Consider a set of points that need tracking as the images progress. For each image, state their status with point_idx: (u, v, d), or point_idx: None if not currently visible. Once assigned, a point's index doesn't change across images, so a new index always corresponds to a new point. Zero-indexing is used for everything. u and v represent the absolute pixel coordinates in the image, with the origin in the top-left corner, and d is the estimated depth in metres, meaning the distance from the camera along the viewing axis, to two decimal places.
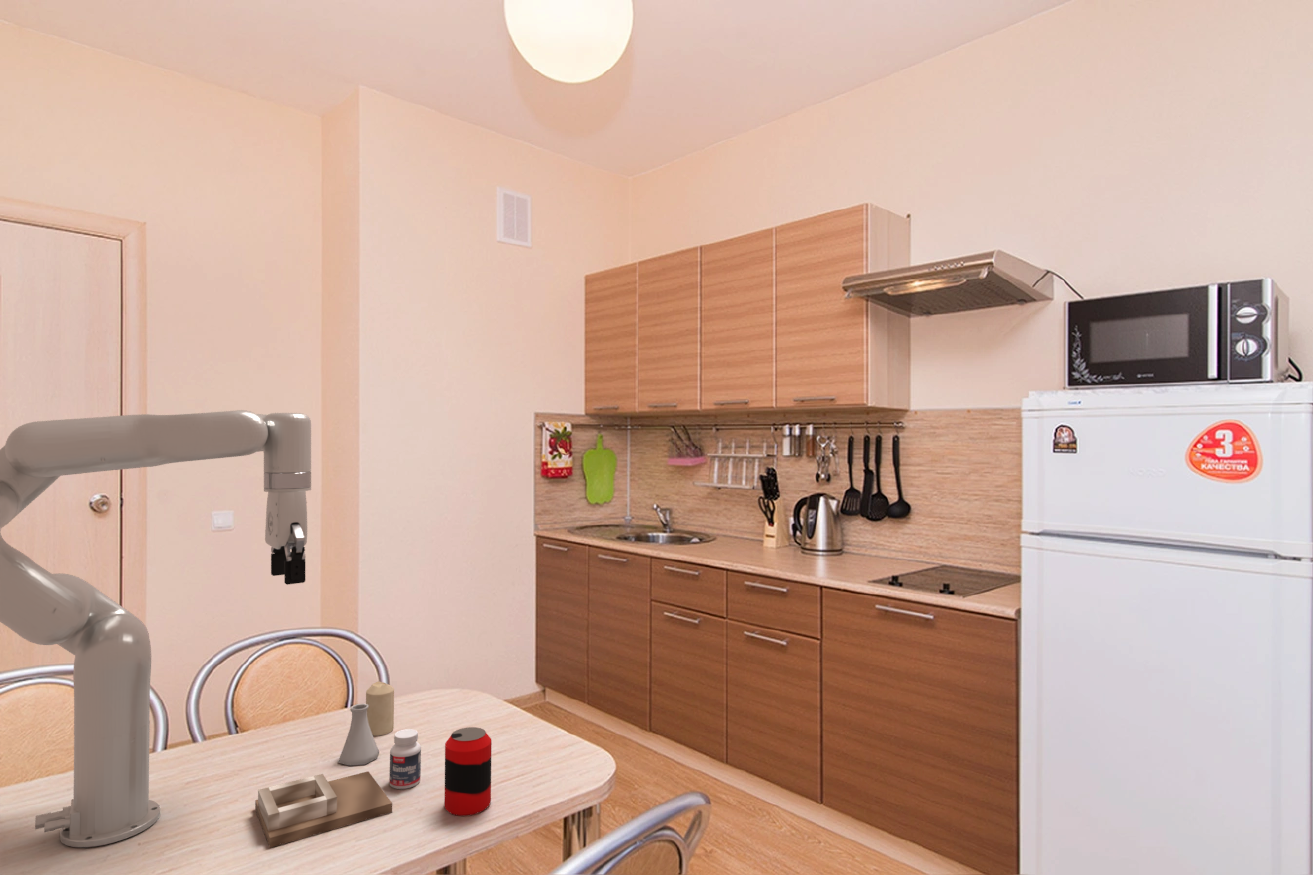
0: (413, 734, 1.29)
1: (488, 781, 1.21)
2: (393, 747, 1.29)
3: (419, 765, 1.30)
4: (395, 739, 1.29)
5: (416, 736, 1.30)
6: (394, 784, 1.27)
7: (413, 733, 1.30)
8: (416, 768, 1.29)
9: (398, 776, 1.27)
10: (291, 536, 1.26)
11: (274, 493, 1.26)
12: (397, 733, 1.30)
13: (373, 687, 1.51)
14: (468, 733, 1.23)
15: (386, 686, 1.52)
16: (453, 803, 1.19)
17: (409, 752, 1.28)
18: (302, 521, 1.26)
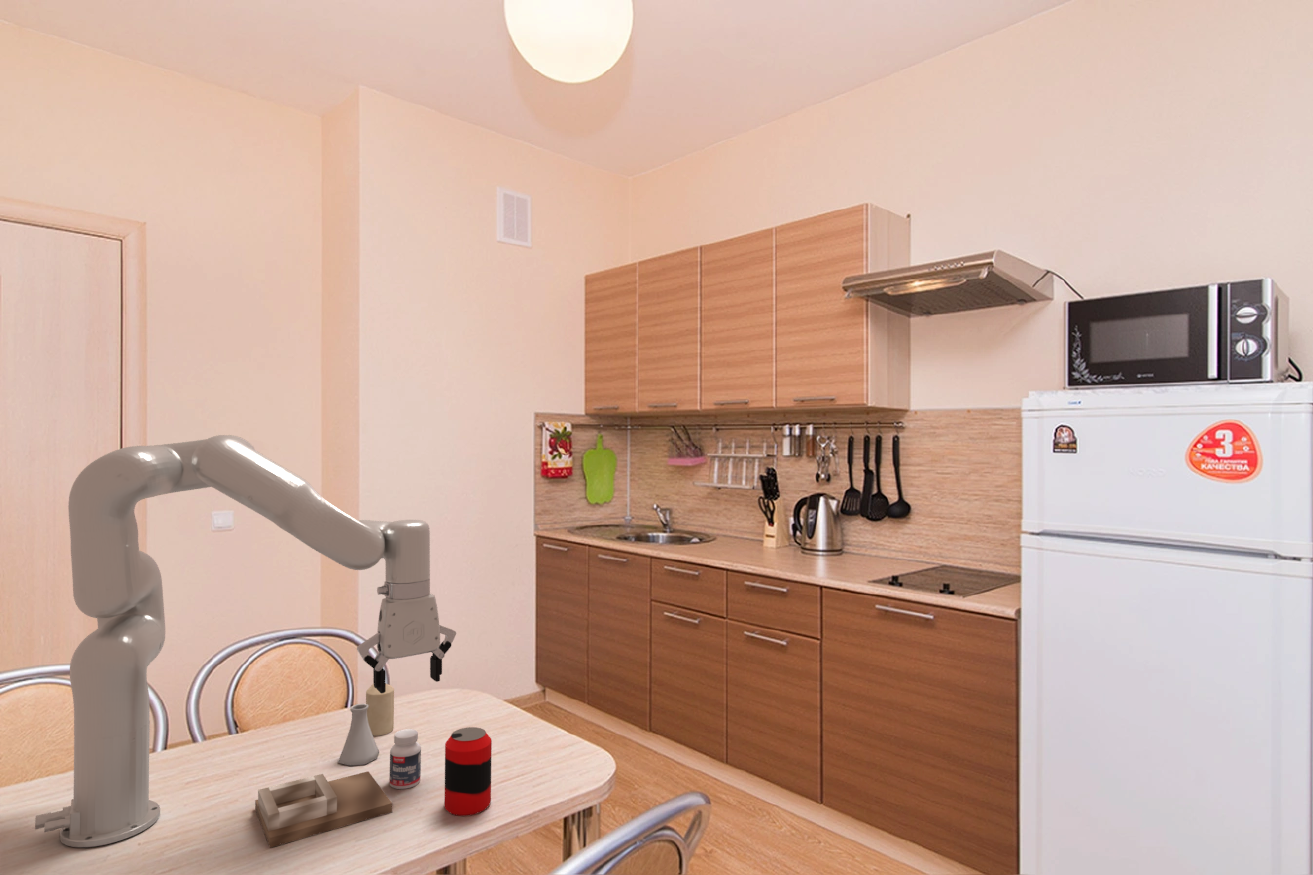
0: (413, 734, 1.29)
1: (488, 781, 1.21)
2: (393, 747, 1.29)
3: (419, 765, 1.30)
4: (395, 739, 1.29)
5: (416, 736, 1.30)
6: (394, 784, 1.27)
7: (413, 733, 1.30)
8: (416, 768, 1.29)
9: (398, 776, 1.27)
10: None
11: (424, 600, 1.29)
12: (397, 733, 1.30)
13: (373, 687, 1.51)
14: (469, 733, 1.23)
15: (386, 686, 1.52)
16: (453, 802, 1.19)
17: (409, 752, 1.28)
18: None
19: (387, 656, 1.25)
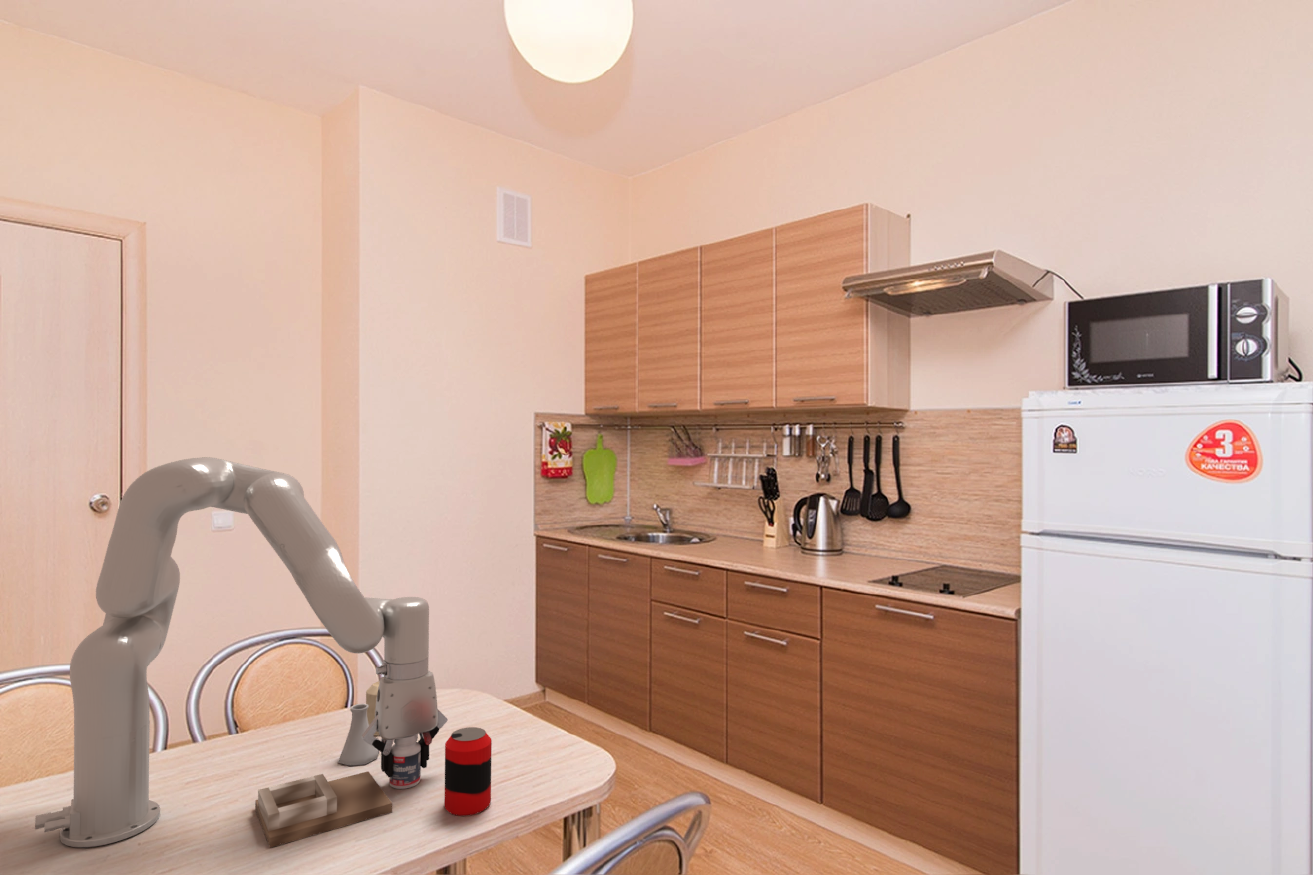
0: None
1: (488, 781, 1.21)
2: (393, 747, 1.29)
3: (419, 765, 1.30)
4: (395, 739, 1.29)
5: (416, 736, 1.30)
6: (394, 784, 1.27)
7: None
8: (416, 768, 1.29)
9: (398, 776, 1.27)
10: None
11: (422, 679, 1.29)
12: None
13: (373, 687, 1.51)
14: (469, 733, 1.23)
15: None
16: (453, 802, 1.19)
17: (408, 752, 1.28)
18: None
19: (384, 737, 1.25)
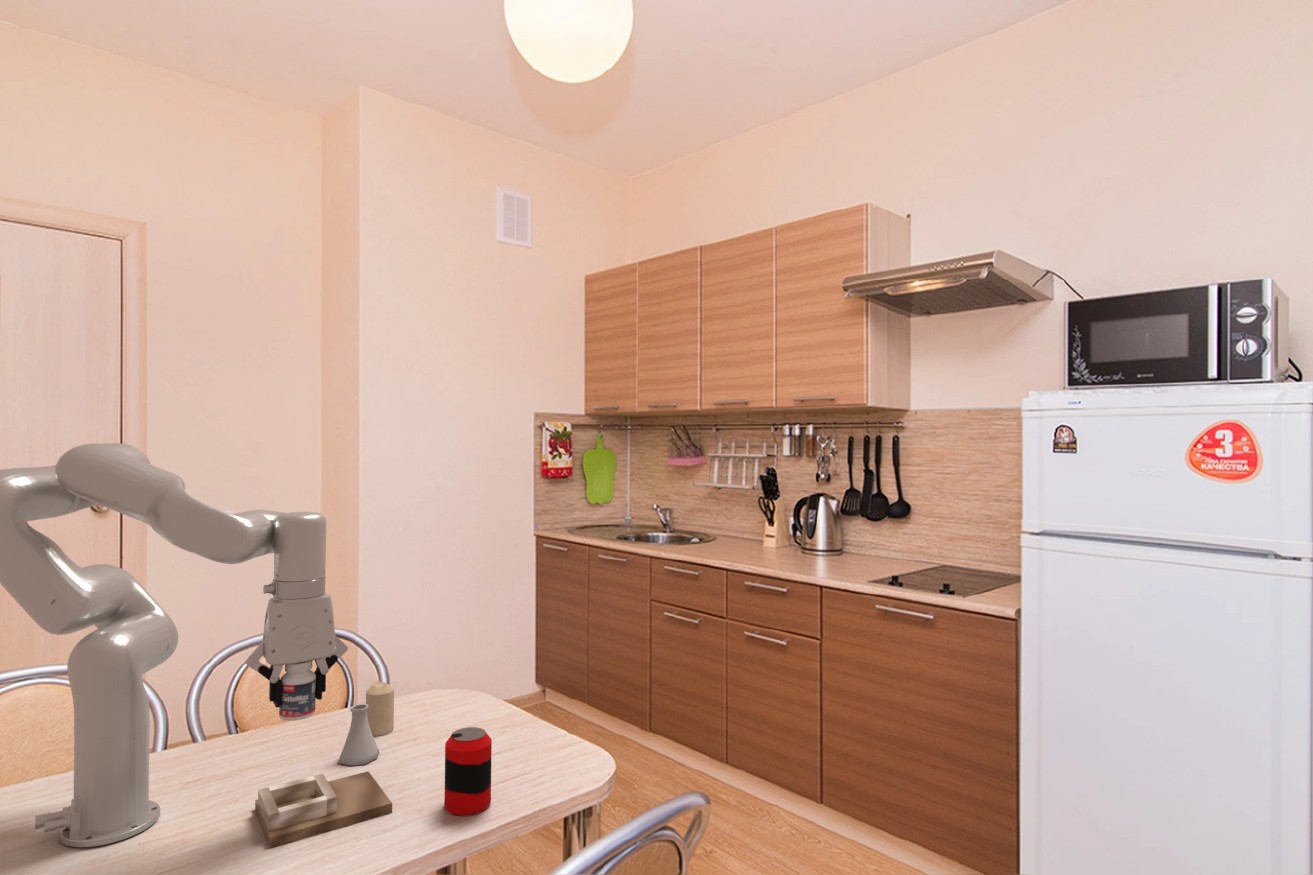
0: (306, 661, 1.17)
1: (488, 781, 1.21)
2: (283, 675, 1.17)
3: (313, 696, 1.17)
4: (285, 666, 1.16)
5: (310, 663, 1.17)
6: (283, 715, 1.15)
7: None
8: (308, 699, 1.16)
9: (287, 707, 1.15)
10: None
11: (316, 600, 1.17)
12: None
13: (373, 687, 1.51)
14: (469, 733, 1.23)
15: (386, 686, 1.52)
16: (453, 802, 1.19)
17: (300, 680, 1.15)
18: None
19: (270, 662, 1.13)
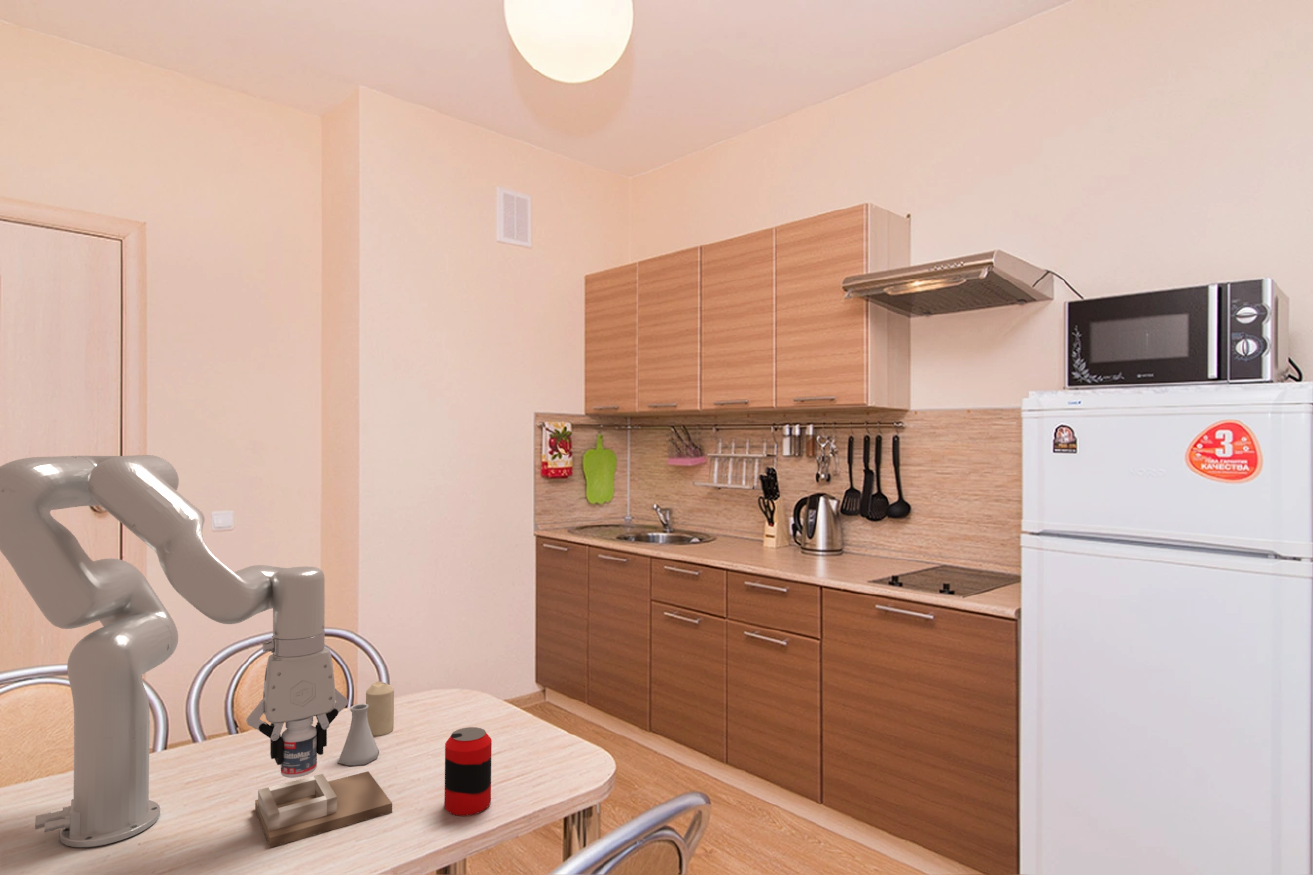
0: None
1: (488, 781, 1.21)
2: (284, 732, 1.17)
3: (314, 751, 1.17)
4: (286, 723, 1.16)
5: (310, 719, 1.17)
6: (285, 772, 1.15)
7: None
8: (309, 755, 1.16)
9: (288, 764, 1.15)
10: None
11: (315, 656, 1.17)
12: None
13: (373, 687, 1.51)
14: (468, 733, 1.23)
15: (386, 686, 1.52)
16: (453, 802, 1.19)
17: (300, 737, 1.15)
18: None
19: (271, 721, 1.13)
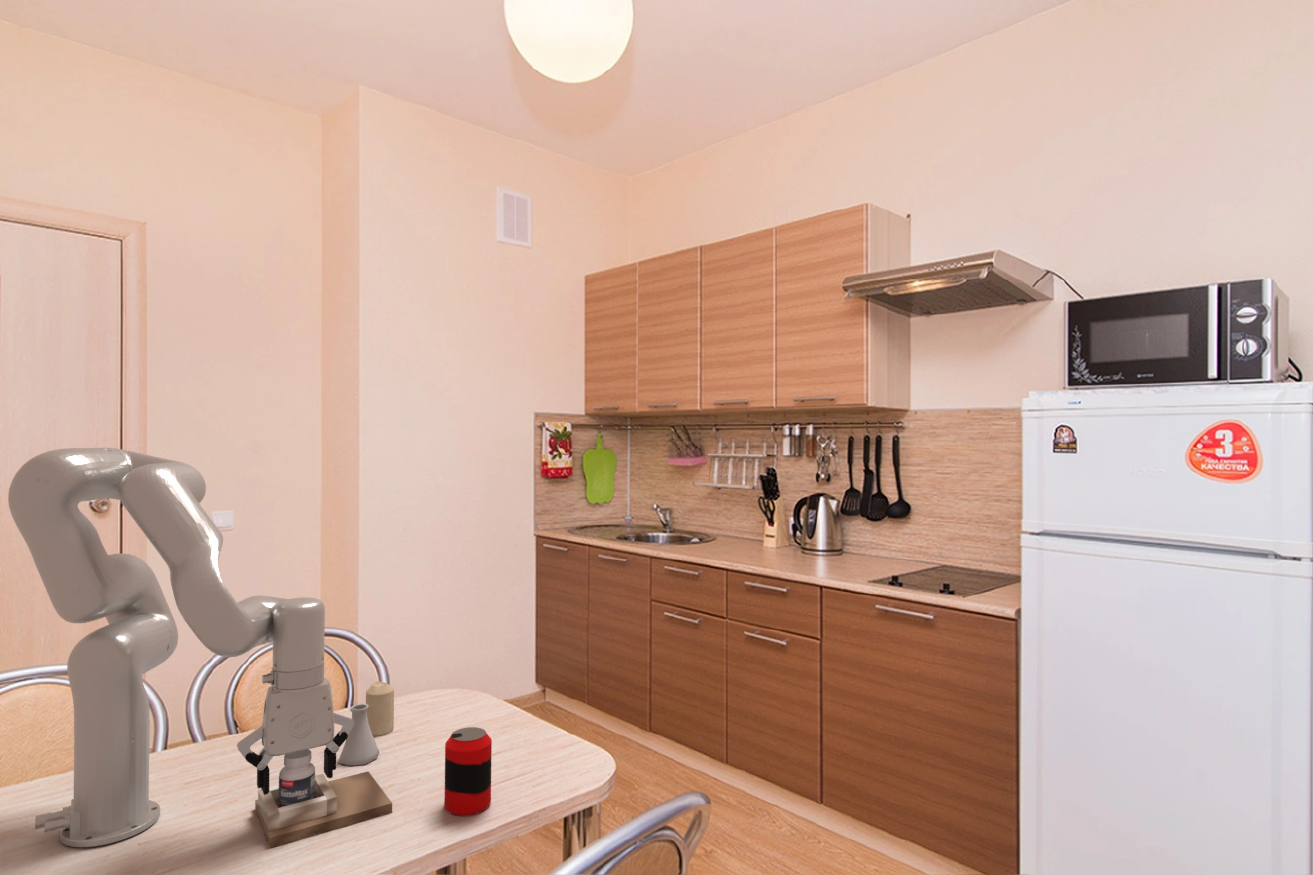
0: (305, 755, 1.17)
1: (488, 781, 1.21)
2: (282, 769, 1.17)
3: (312, 789, 1.17)
4: (284, 760, 1.16)
5: (309, 757, 1.17)
6: None
7: (305, 754, 1.18)
8: (307, 793, 1.16)
9: (286, 802, 1.15)
10: None
11: (315, 688, 1.17)
12: (288, 754, 1.17)
13: (373, 687, 1.51)
14: (469, 733, 1.23)
15: (386, 686, 1.52)
16: (453, 802, 1.19)
17: (298, 775, 1.15)
18: None
19: (270, 753, 1.13)
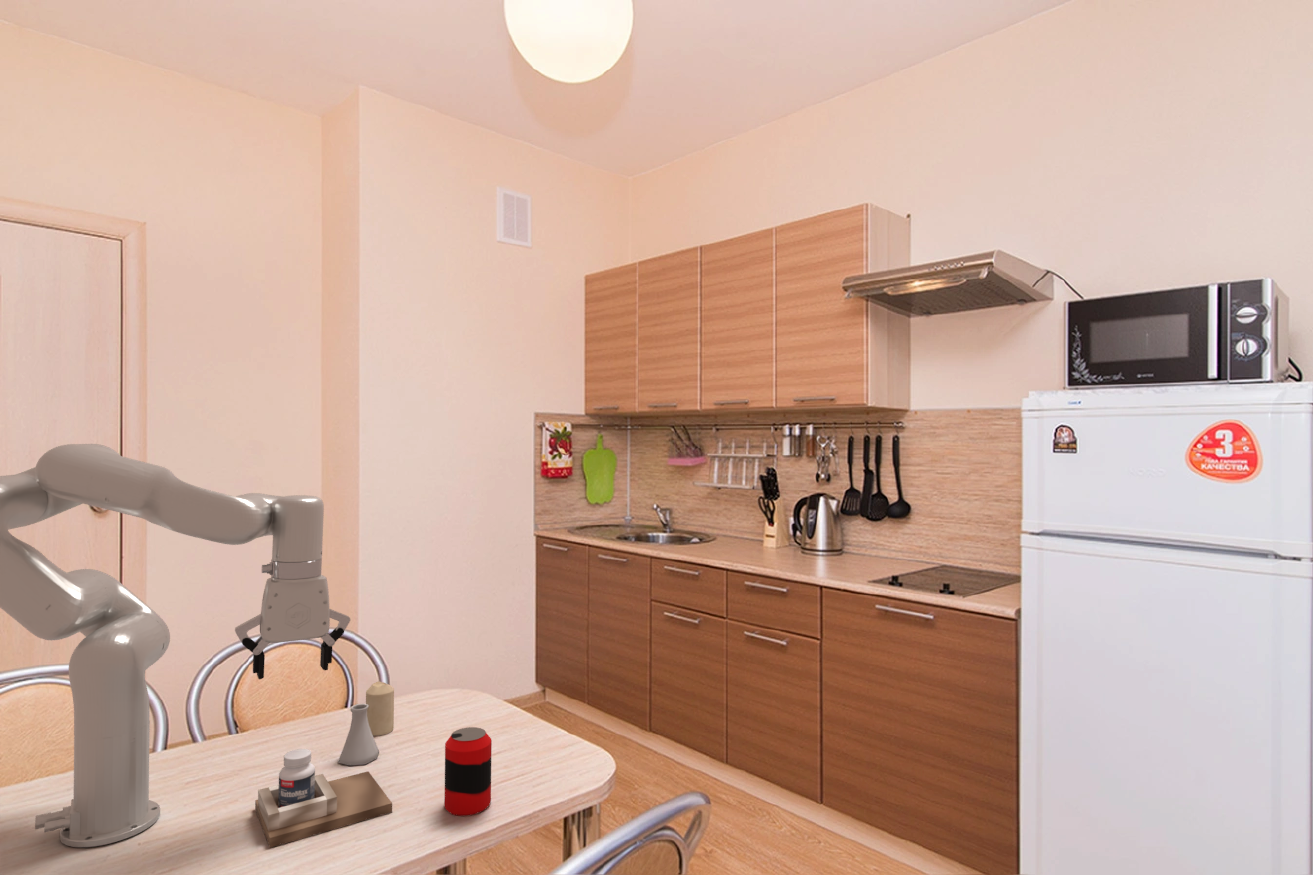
0: (305, 755, 1.17)
1: (488, 781, 1.21)
2: (282, 769, 1.17)
3: (312, 789, 1.17)
4: (284, 760, 1.16)
5: (308, 757, 1.17)
6: None
7: (305, 754, 1.18)
8: (307, 793, 1.16)
9: (286, 802, 1.15)
10: None
11: (312, 581, 1.20)
12: (287, 754, 1.17)
13: (373, 687, 1.51)
14: (468, 733, 1.23)
15: (386, 686, 1.52)
16: (453, 802, 1.19)
17: (298, 775, 1.15)
18: None
19: (266, 639, 1.17)
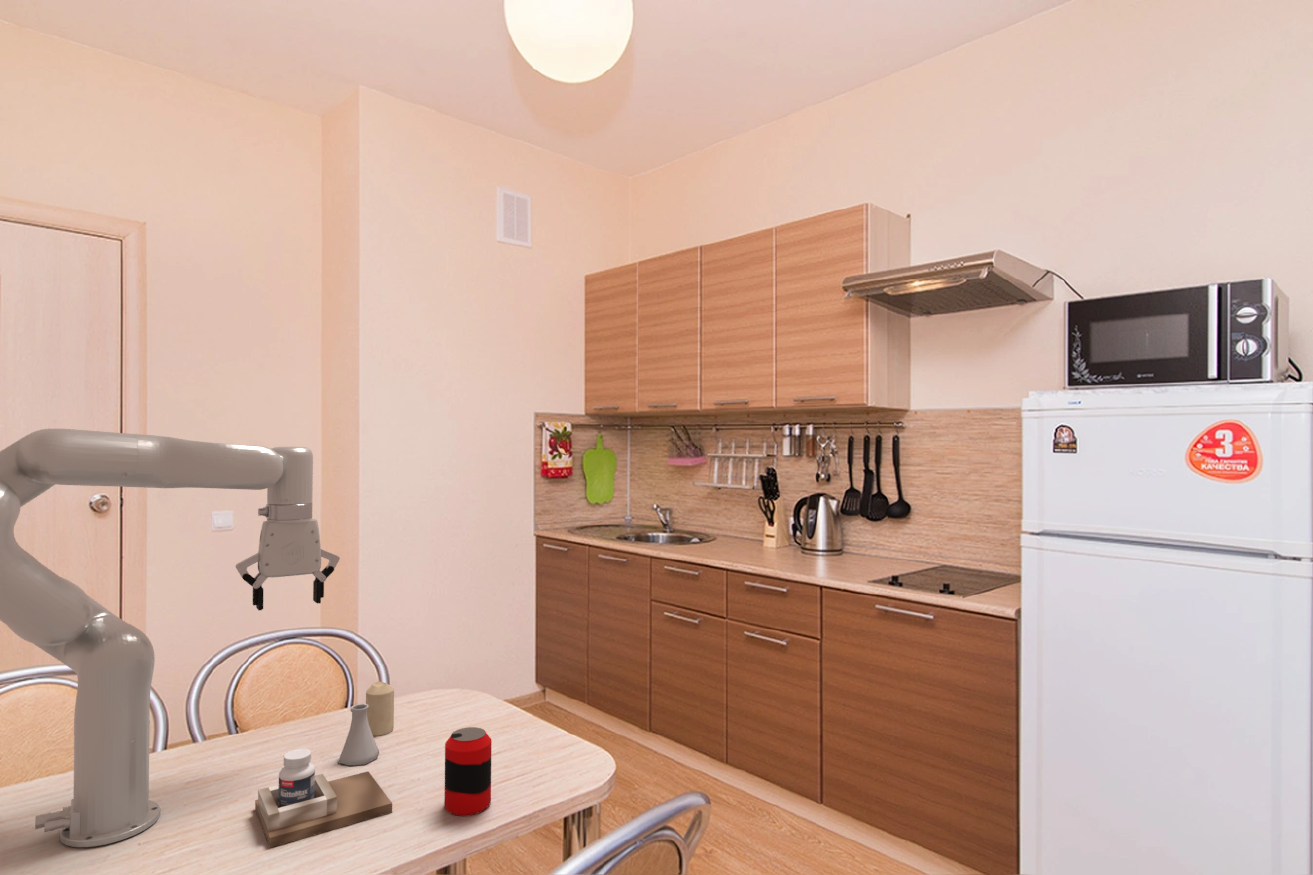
0: (305, 755, 1.17)
1: (488, 781, 1.21)
2: (282, 769, 1.17)
3: (312, 789, 1.17)
4: (284, 761, 1.16)
5: (308, 757, 1.17)
6: None
7: (305, 754, 1.18)
8: (307, 793, 1.16)
9: (286, 802, 1.15)
10: None
11: (304, 523, 1.34)
12: (287, 754, 1.17)
13: (373, 687, 1.51)
14: (468, 733, 1.23)
15: (386, 686, 1.52)
16: (453, 803, 1.19)
17: (298, 776, 1.15)
18: None
19: (264, 574, 1.30)
